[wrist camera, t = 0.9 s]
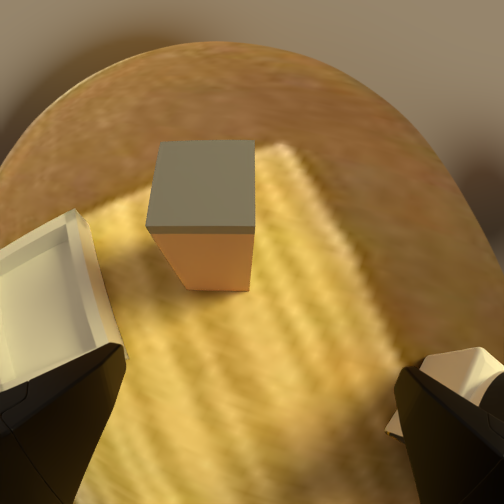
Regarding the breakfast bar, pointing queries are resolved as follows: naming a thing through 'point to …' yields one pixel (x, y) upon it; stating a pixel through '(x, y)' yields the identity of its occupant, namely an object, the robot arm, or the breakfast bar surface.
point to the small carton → (464, 381)
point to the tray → (51, 300)
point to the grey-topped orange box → (205, 211)
